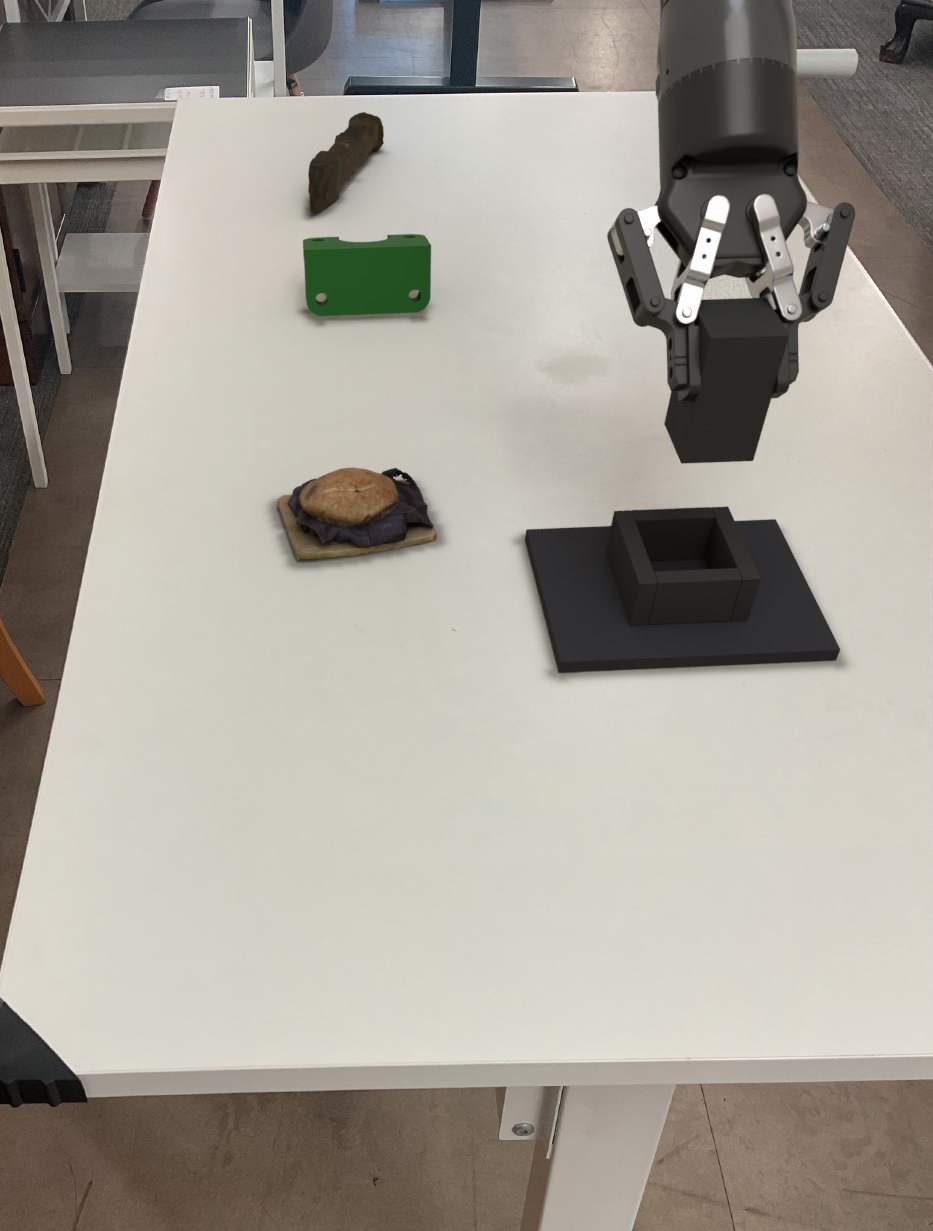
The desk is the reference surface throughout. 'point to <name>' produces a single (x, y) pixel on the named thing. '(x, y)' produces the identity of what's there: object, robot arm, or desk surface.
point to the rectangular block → (729, 382)
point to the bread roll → (355, 514)
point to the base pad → (675, 593)
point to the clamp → (367, 275)
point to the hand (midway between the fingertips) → (733, 394)
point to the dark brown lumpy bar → (343, 159)
